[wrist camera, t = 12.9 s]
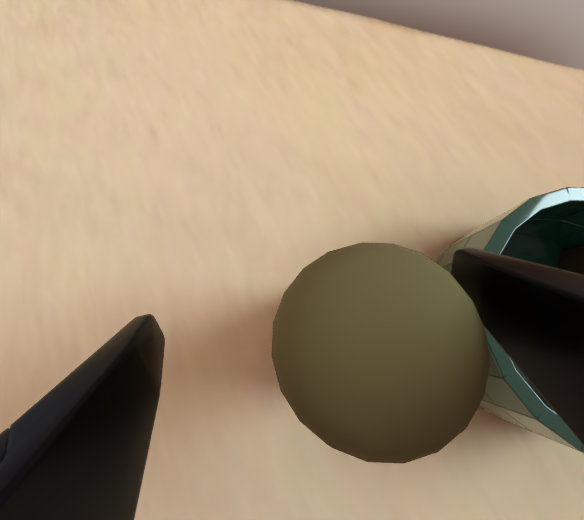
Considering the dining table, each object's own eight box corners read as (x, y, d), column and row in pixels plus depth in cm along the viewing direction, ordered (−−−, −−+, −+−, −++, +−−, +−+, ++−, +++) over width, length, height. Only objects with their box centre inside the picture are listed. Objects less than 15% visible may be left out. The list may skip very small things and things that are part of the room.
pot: (525, 474, 15) (638, 544, 10) (384, 293, 17) (422, 279, 12) (665, 342, 17) (821, 347, 12) (520, 192, 19) (601, 144, 14)
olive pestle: (285, 274, 17) (278, 185, 7) (386, 294, 17) (545, 232, 6) (264, 381, 16) (211, 483, 5) (373, 403, 16) (551, 559, 5)
